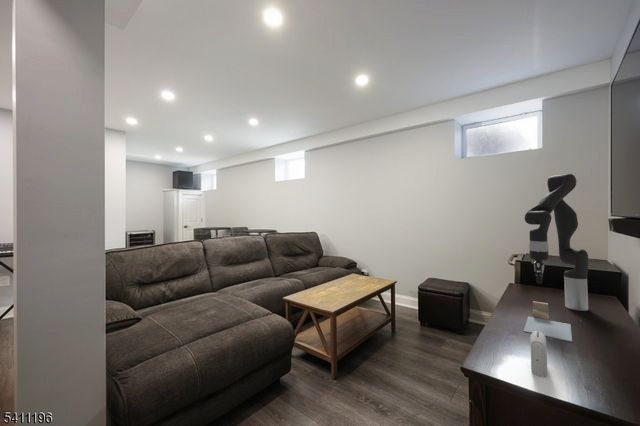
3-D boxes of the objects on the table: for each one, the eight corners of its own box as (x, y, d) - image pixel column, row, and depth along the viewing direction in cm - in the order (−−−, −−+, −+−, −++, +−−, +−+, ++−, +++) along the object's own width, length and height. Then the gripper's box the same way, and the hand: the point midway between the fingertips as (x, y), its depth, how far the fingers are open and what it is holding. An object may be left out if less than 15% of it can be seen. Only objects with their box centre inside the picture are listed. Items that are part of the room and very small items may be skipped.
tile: (533, 316, 138) (533, 301, 138) (548, 319, 134) (548, 303, 134) (533, 317, 137) (532, 302, 137) (548, 320, 133) (548, 304, 133)
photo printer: (547, 378, 86) (546, 340, 87) (530, 374, 89) (529, 337, 89) (547, 364, 94) (546, 329, 94) (531, 360, 97) (530, 326, 97)
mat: (528, 317, 137) (528, 316, 137) (570, 325, 126) (570, 324, 126) (523, 331, 121) (523, 330, 121) (572, 342, 110) (572, 341, 110)
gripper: (530, 248, 144) (531, 278, 143) (528, 250, 133) (529, 283, 133) (548, 249, 138) (549, 280, 138) (547, 252, 128) (548, 285, 128)
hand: (539, 281), depth 135 cm, fingers open, 8 cm apart
